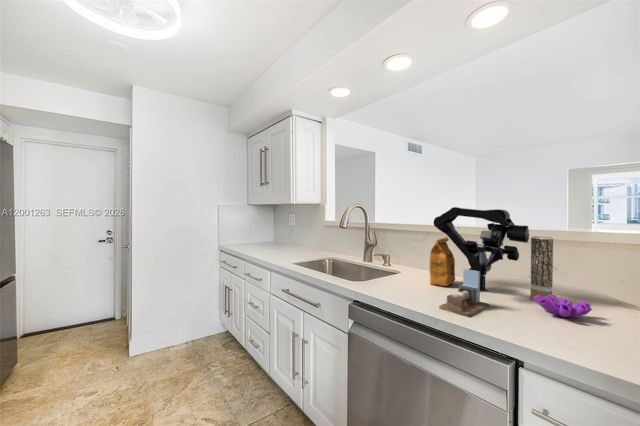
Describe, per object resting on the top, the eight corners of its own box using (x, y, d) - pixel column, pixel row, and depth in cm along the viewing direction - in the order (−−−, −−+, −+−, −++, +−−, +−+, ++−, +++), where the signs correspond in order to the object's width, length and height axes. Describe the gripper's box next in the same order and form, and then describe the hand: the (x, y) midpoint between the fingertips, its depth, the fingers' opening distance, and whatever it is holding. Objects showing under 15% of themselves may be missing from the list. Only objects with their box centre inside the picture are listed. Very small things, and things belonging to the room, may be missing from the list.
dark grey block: (460, 299, 102) (460, 284, 102) (475, 303, 98) (475, 288, 98) (458, 300, 101) (458, 285, 101) (473, 304, 97) (473, 288, 97)
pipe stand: (461, 299, 108) (461, 284, 108) (489, 306, 100) (489, 290, 100) (439, 308, 97) (439, 291, 97) (468, 317, 90) (468, 298, 90)
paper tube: (556, 302, 105) (557, 238, 105) (536, 301, 106) (537, 237, 106) (545, 297, 112) (546, 236, 112) (526, 296, 113) (527, 236, 113)
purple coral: (589, 335, 85) (585, 314, 82) (531, 319, 97) (525, 300, 94) (596, 307, 90) (592, 287, 87) (540, 295, 102) (535, 277, 99)
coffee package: (459, 282, 131) (458, 237, 131) (447, 288, 123) (446, 240, 122) (438, 278, 139) (437, 236, 138) (426, 284, 131) (425, 238, 130)
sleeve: (464, 297, 105) (464, 269, 105) (479, 301, 100) (480, 271, 100) (460, 299, 103) (461, 269, 103) (476, 302, 99) (476, 272, 98)
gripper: (467, 221, 119) (453, 248, 112) (518, 225, 104) (505, 257, 98) (474, 239, 124) (461, 265, 117) (524, 245, 109) (512, 276, 103)
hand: (483, 265), depth 109 cm, fingers closed
